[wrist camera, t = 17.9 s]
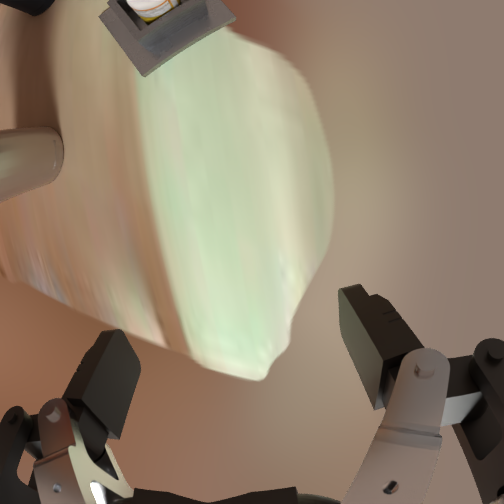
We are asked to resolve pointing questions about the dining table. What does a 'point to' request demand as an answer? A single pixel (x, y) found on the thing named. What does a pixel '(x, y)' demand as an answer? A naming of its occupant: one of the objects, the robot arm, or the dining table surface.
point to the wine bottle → (29, 5)
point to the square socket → (163, 30)
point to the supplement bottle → (153, 8)
